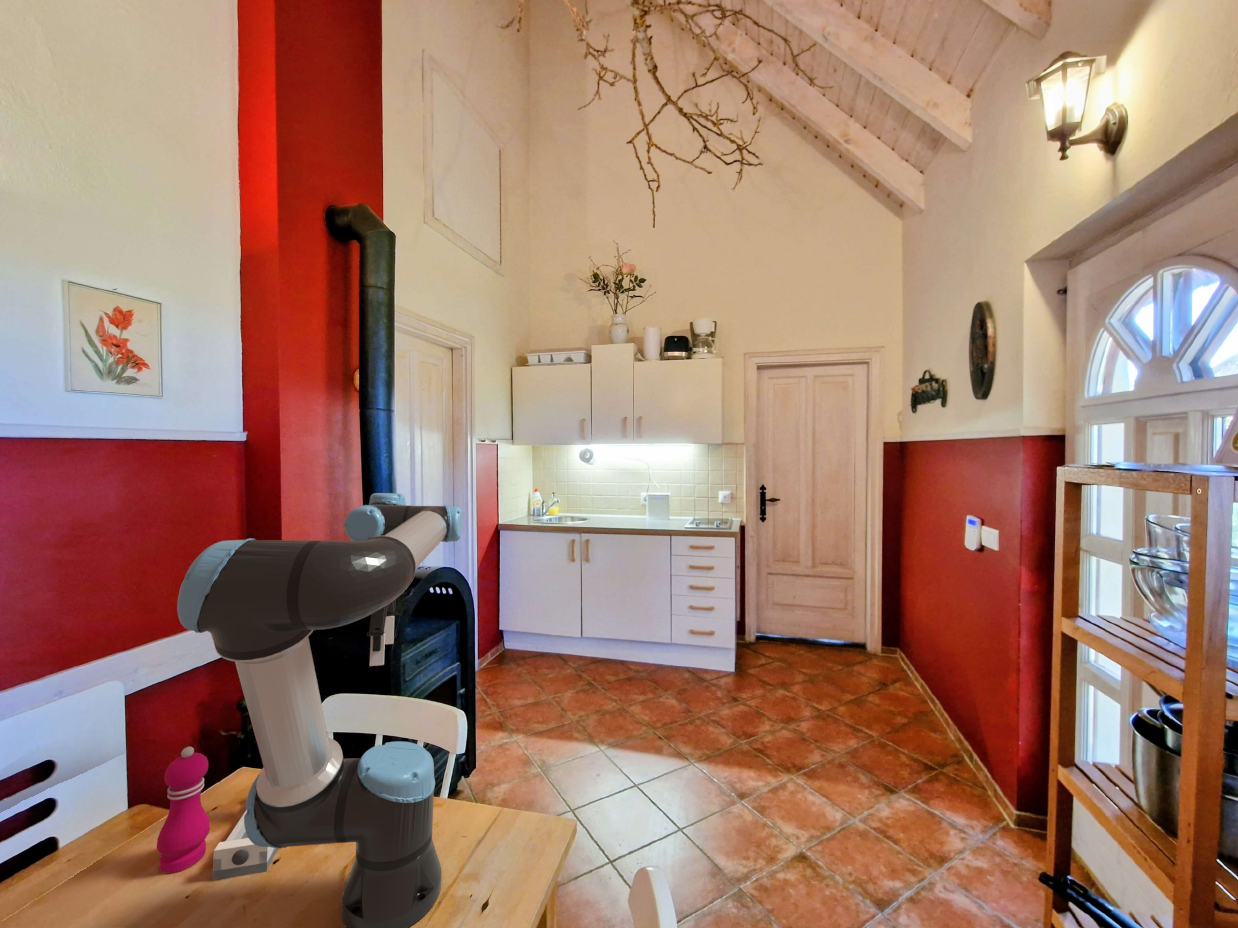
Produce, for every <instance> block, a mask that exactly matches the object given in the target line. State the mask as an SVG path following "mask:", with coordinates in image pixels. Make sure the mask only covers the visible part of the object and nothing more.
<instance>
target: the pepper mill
mask: <svg viewBox="0 0 1238 928" xmlns="http://www.w3.org/2000/svg"><path fill="white" fill-rule="evenodd" d="M180 755H181V756H178V757H177V758H176V759H174V760H173V761H172V762H171V763H170V764H169V765H168V766H167V768H166V769H165V772H164V779H163V780H164V783H165V785H166V786H167V789H166V791H167V795H166V796H167V799H168V800H170V801H169V802H170V805H169V811H168V814H167V816H166V819H165V821H164V822H163V825H162V827H161V829H160V830H159V833H158V836H157V840H156V850H157V852H158V853H159V854H161V855H160V857H159V870H160V872H161V873H164V874H173V873H179V872H182V871H184V870H186V869H187V870H188V869H189V868H191V867H193V866H194V865H196V864H197V863H198V862H200V861H201V860H202V859H203V857H205V855H206V851H207V842H206V839H207V837H208V835H209V834H210V830H211V823H210V822H211V821H210V818H209V815H208V814H207V812H206V810H205V808H204V806H203V805H202V804H203V803H202V799H201V797H202V796H201V792H202V790H203V788H204V787H205V778H204V776H205V775H206V774H207V772H208V770H209V759H208V757H207V756H206V755H204V754H202V753H200V752H195V748H193V747H192V746H187V747H184V748H183V749H182V751H181V753H180Z"/></svg>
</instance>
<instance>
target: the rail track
mask: <svg viewBox="0 0 1238 928" xmlns="http://www.w3.org/2000/svg"><path fill="white" fill-rule="evenodd" d="M246 813H247V809H246V810H245V812H244V813H243V814H242V816H241V817H240V819H239V820H238V822H237V823H236V825H235V826H234V828H233V830H232V831H231V832H230V834H229V835H228V837H227V839H226V840H225V841H220V842H218V844H217V845H216V846H215V847H214V849H213V859H212V860H213V861H212V881H216V880H217V881H218V880H222V879H229V878H234V877H235V878H236V877H240V876H246V875H253V874H258V873H265V872H267V871H268V870H269V868H270V865H271V863H272V862H273V860H274V858H275V856H276V854H277V852H278V849H279V848H272V847H260V846H257V845H255V844H253V843H252V842H251V841H250V839H249V838H248V836H247V834H246V830H245V825H244V816H245V814H246Z"/></svg>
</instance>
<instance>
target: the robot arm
mask: <svg viewBox="0 0 1238 928" xmlns="http://www.w3.org/2000/svg"><path fill="white" fill-rule="evenodd" d="M463 513H464V512H463V511H462V509H461V508H460V506H452V505H451V506H450V505H445V504H444V505H406V496H405V495H404V494H402V493H398V492H393V493H392V492H391V493H390V492H377V493H372V494H371V495H370V497H369V503H368V504H363V505H361V506H358V507H357V508H354V509H353V510H351V511H350V512H349V513H348V514H347V515H346V517H345V520H344V525H343V527H344V531H345V534H346V536H347V537H348V538H349V539H350V540H334V539H333V540H332V539H331V540H329V539H328V540H327V539H326V540H325V539H324V540H314V539H313V540H305V539H304V540H303V539H302V540H299V539H297V540H293V539H291V540H288V539H286V540H281V539H278V540H277V539H276V540H275V539H274V540H272V539H271V540H270V539H267V540H264V539H263V540H260V539H259V540H257V539H256V538H250V537H249V538H247V539H236V540H235V539H234V540H232V539H231V540H221V541H218V542H216V543H213V544H212V545H209V546H208V547H206V548H205V549H203V551H202V552H201V553H200V554H199V555H198V556H197V557H196V558H195V559H194V560H193V562H191V564H190V565H189V568H188V570H187V572H186V573H185V575H184V579H183V581H182V583H181V584H180V588H179V593H178V596H177V603H176V605H177V607H176V610H177V616H178V620H179V623H180V625H182V627H183V628H184V629H186V630H188V631H193V632H195V633H196V634H197V633H199V634H200V633H205V632H209V633H210V634H211V639H212V641H213V645H214V647H215V651H216V652H217V655H219V656H220V657H221V658H222V659H225V660H226V661H227V660H228V661H230V662H234V663H235V667H236V672H237V674H238V678H239V682H240V685H241V689H242V692H243V696H244V700H245V703H246V708H247V710H248V714H249V717H250V722H251V725H252V729H253V733H254V736H255V740H256V744H257V748H258V751H259V755H260V758H261V763H262V766H263V767H262V769H261V770H260V772H259V773H258V774H257V776H256V777H255V779H254V780H253V782H252V785H251V786H250V788H249V791H248V794H247V797H246V801H245V805H244V808H245V809H246V810H247V813H246V814H245V816H244V825H245V830H246V834H247V836H248V838H249V839H250V841H251V842H252V843H253V844H255V845H257V846H260V847H272V848H278V849H283V848H288V847H289V848H290V847H302V846H303V847H304V846H317V845H330V844H332V845H333V844H343V843H345V844H346V843H355V859H354V861H353V863H352V867H351V869H350V872H349V875H348V878H347V881H346V884H345V887H344V889H343V893H342V897H341V912H340V913H341V915H340V916H341V920H342V923H343V925H344V927H345V928H410V927H412V926H413V925H414V924H416V923H418V922H419V921H420V920H421V919H422V918H424V917H425V916H426V915H427V914H428V913H429V911H431V910H432V908H433V906H434V905H435V904H436V902H437V901H438V899H439V896H440V893H441V889H442V880H443V879H442V872H443V871H442V865H441V861H440V859H439V857H438V853H437V849H436V847H435V844H434V841H433V826H434V825H433V821H434V820H433V819H434V795H435V794H434V793H435V786H436V779H435V766H434V758H433V757H432V755H431V753H430V752H429V751H428V750H426V748H425V747H423V746H421V745H420V744H416V743H415V742H410V741H398V740H397V741H390V742H389V741H388V742H384V744H377V745H375V746H373V747H371V748H369V749H367V750H366V751H365V752H364V753H363V754H362V756H361V757H360V758H355V757H354V758H344V755H343V754H344V753H343V750H342V747H341V745H340V744H339V742H338V741H336V740H335V739H333V738H331V737H329V736H328V731H327V725H326V724H327V723H326V720H325V715H324V710H323V704H322V700H321V695H320V689H319V683H318V678H317V673H316V670H315V664H314V658H313V654H312V650H311V644H310V639H309V636H311V634H312V633H313V631H317V630H327V629H328V630H329V629H334V628H338V627H342V626H346V625H349V624H352V623H354V622H357V621H359V620H361V619H364V618H366V617H369V616H370V621H369V629H368V631H366V637H370V646H369V647H370V648H369V651H370V652H369V667H373V666H375V667H378V666H384V665H385V650H386V648H385V645H394V642H395V641H394V639H395V638H394V637H395V635H394V634H395V616H398V615H399V614H398V613H399V610H397V606H396V604H397V603H396V602H397V601H396V600H397V599H398V598H399V597H400V596H401V595H402V594H403V593H405V591H406V590H407V589H408V588H409V586H410V585H411V584H412V582H413V580H414V579H415V575H416V571H417V568H418V567H419V566H420V565H421V564H422V563H423V562H424V561H425V559H427V557H428V556H429V555H430V554H431V553H432V552H433V551H434V550H435V549H436V547H437V546H439V544H440V543H441V542H443V543H444V542H445V543H448V542H451V543H452V542H457V541H459V540H460V539H461V538H462V535H463V529H464V516H463V515H464V514H463Z"/></svg>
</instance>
